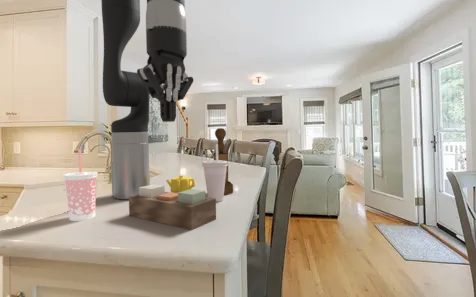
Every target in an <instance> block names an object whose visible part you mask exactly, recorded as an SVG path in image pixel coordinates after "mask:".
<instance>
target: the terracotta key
mask: <svg viewBox="0 0 476 297" xmlns="http://www.w3.org/2000/svg"><path fill="white" fill-rule="evenodd" d="M169 192H170V193H166V194H162V195H158V199H161V200H168V201H172V200H176V199H178V193H173V192H171V191H169Z"/></svg>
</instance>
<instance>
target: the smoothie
mask: <svg viewBox="0 0 476 297" xmlns="http://www.w3.org/2000/svg"><path fill="white" fill-rule="evenodd" d="M215 153H216V160H214V159H213V160H204V161H202V162H201V163H202V165H201V167H203V173H204V179H205V180H204V182H205V187H206V193H207V194H206V195H207V198H214V199H216V203H218V202H219V203H220V202H223V201H224V197H225V195H224V187H225V178H226V167H227V166H228V167H229V160H228V161H223V160H218V143H216V144H215Z"/></svg>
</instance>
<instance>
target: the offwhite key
mask: <svg viewBox="0 0 476 297" xmlns="http://www.w3.org/2000/svg"><path fill="white" fill-rule="evenodd" d="M165 192H166V191H165V185H159V184H150V185H148V186H143V187H139V196H143V197H149V198H152V197H156V196H158V195H162V194H165Z"/></svg>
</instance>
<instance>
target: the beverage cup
mask: <svg viewBox="0 0 476 297" xmlns="http://www.w3.org/2000/svg"><path fill="white" fill-rule="evenodd" d="M77 151H78V154H77V155H78V171H77V172H69V173H64V174H63V175H62V177H63V178H62V179H63V180H64V184H65V185H64V186H65V192H66V200H67V208H68V210H67V211H68V216H69V220H70V221H72V222H73V221H74V222H80V221H81V222H82V221H87V220H90V219H93V218H95V217H96V207H97V206H96V199H97V198H96V197H97V195H96V194H97V177H98V174H99V173H98V171H83V169H82V168H83V167H82V166H83V165H82V149H81V148H78V150H77Z"/></svg>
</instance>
